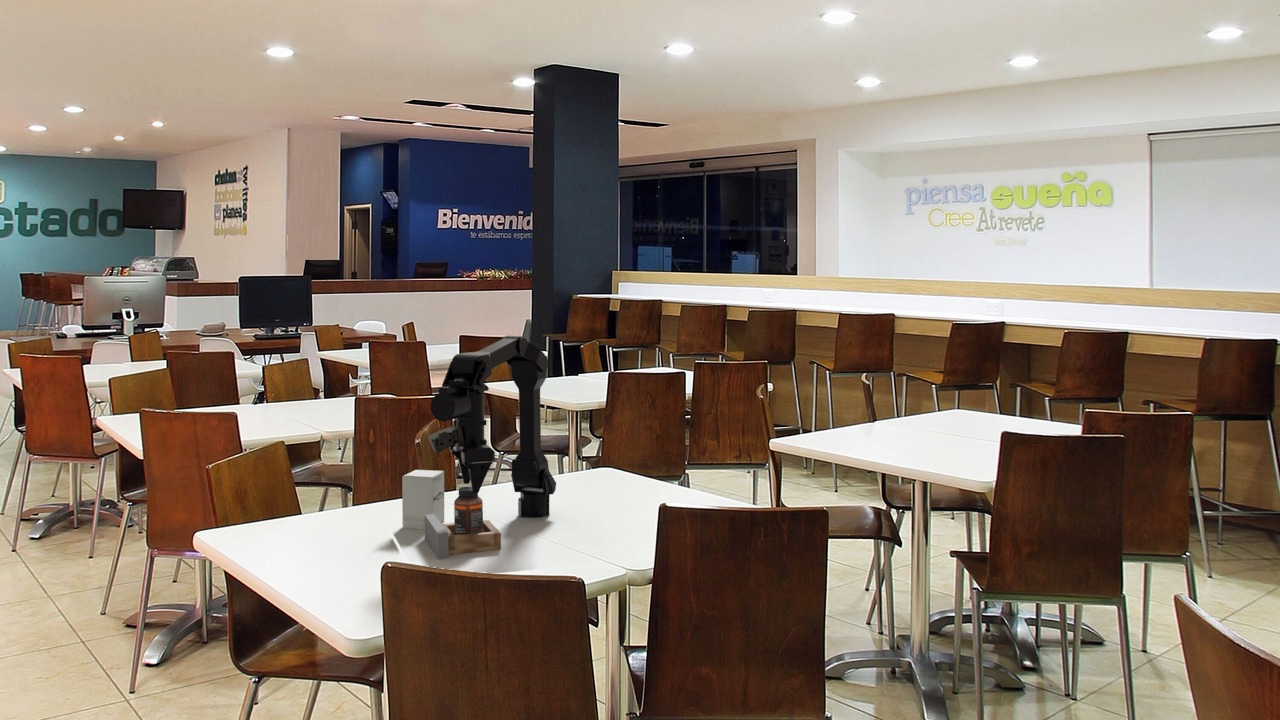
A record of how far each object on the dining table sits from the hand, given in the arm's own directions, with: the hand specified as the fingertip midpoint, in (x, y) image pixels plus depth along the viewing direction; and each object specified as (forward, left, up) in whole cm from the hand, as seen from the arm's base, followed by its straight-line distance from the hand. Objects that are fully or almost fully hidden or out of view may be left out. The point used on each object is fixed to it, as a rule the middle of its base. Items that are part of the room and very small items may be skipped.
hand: (470, 488), depth 210 cm
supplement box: (+7, -20, -13) cm, 25 cm away
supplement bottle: (+1, 0, -12) cm, 12 cm away
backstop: (-2, 0, -13) cm, 13 cm away
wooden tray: (+1, 0, -12) cm, 12 cm away
